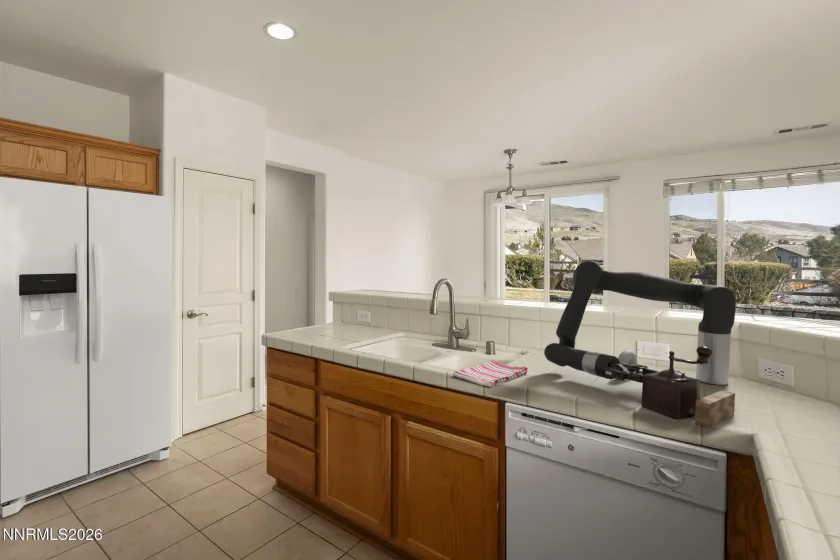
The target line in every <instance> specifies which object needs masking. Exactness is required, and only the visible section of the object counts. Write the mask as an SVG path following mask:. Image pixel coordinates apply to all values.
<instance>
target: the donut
mask: <svg viewBox="0 0 840 560" xmlns="http://www.w3.org/2000/svg"><path fill="white" fill-rule="evenodd" d="M617 358H618V360H619V362H620V364H622V363H627V364H628V363H634V364H638V356H637V355H636V353H635V352H634V351H632V350H631V349H625V350H623V351H621V352H620V353H619V355H618V356H617ZM633 373H635V372H633Z"/></svg>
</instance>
